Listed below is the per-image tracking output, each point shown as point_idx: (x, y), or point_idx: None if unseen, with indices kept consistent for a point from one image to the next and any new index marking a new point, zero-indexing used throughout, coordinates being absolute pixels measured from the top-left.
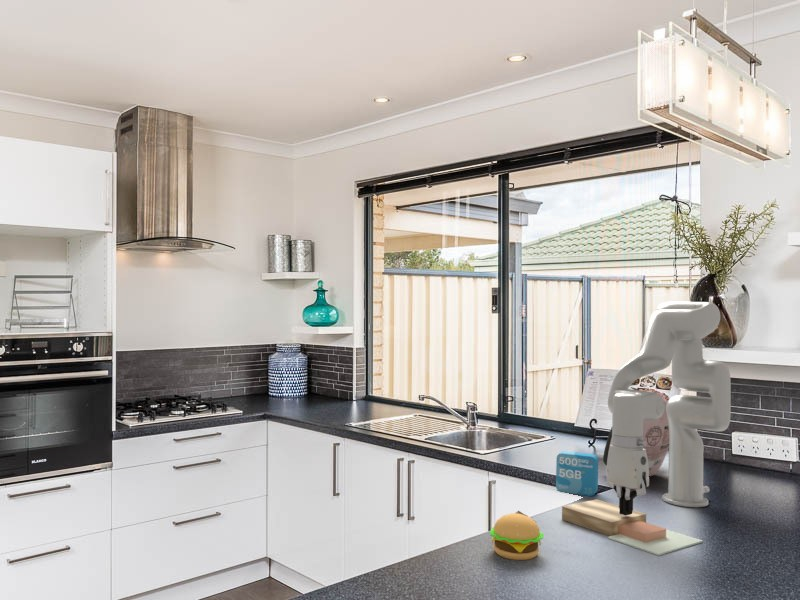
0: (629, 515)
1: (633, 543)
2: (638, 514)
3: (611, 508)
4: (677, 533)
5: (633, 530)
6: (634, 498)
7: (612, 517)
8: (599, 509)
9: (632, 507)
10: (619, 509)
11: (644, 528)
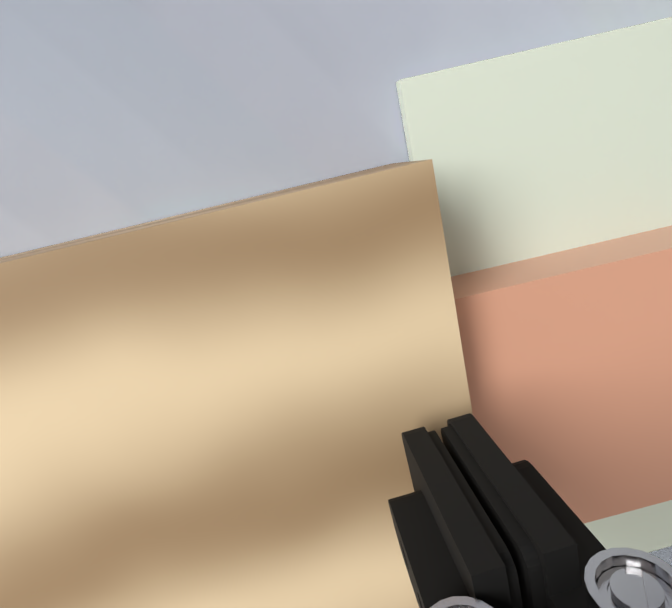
0: (410, 393)
1: (649, 528)
2: (416, 272)
3: (118, 421)
4: (669, 36)
5: (621, 510)
6: (634, 551)
7: (405, 580)
8: (128, 559)
9: (547, 490)
10: (176, 355)
11: (639, 408)
